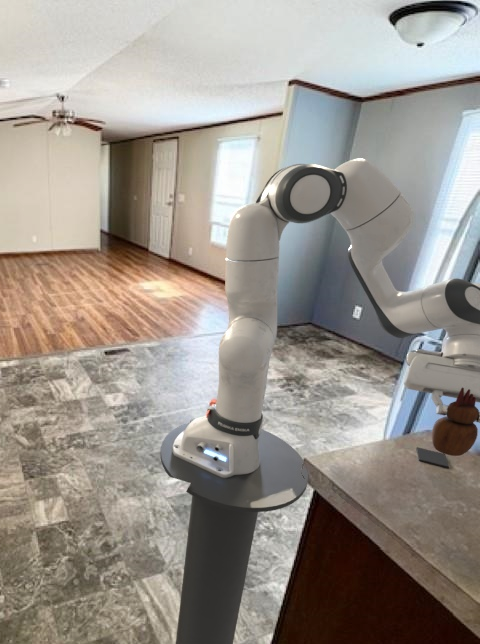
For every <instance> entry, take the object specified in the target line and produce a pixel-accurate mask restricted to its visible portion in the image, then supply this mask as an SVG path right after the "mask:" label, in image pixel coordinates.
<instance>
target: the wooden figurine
mask: <svg viewBox="0 0 480 644" xmlns="http://www.w3.org/2000/svg"><path fill="white" fill-rule="evenodd" d="M469 395H470V396H469ZM476 403H477V402H476V398H475V397H473V394H470V389H468V391H467V392H466V394H465V395H464V388H461V391H460V393H459V395H458V397H457V398H456V399H455V401H452V402H450V403H449V404H448V409H447V410H448V413H447V414H446V415H445V416H441V417H440V418H438V419H436V421H435V422H434V424H433V426H432V429H431V440H432V441H431V442H432V445H433V447H434V449H435V451H436V450H437V452H439V453H443V454H445V455H446V456H447V455H448V456H453V457H459V456H462V455H464V454H466V453H468V452H469V451H470V450H471V449H472V447H473V446H475V445H474V444H475V443H476V440H477V438H478V433H479V431H478V427H477V425H476V424H475V423H476V422H475V421H476V420H477V418H478V415H479V412H480V411H479V408H478V407H476Z"/></svg>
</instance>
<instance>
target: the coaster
mask: <svg viewBox="0 0 480 644" xmlns="http://www.w3.org/2000/svg"><path fill="white" fill-rule="evenodd" d="M416 453H417V454H416V455H417V458H418V462H421V463H425V464H429V465H432V466H433V465H434V466H437V467H442V468H444V469H445V468H446V469H450V465H449V462H448V458H447V454H444V453H441V452H439V451H436V450H435V451H434V450H430V449H427V448H422V447H418V446H417V447H416Z"/></svg>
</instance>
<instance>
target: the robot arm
mask: <svg viewBox="0 0 480 644" xmlns="http://www.w3.org/2000/svg"><path fill="white" fill-rule="evenodd" d="M327 215H331V216H332V217H333V218H335V220H337V222H338V223H339V224H340V226H341V227H342V229H343V230H344V231H345V233H346V234H347V236H348V238H349V241H350V246H349V248H348V252H347V257H348V261H349V264H350V267H351V268H352V271H353V272H354V275H355V276H356V278H357V280H358V282H359V283H360V285H361V287H362V289H363V291H364V292H365V294H366V296H367V298H368V300H369V302H370V304H371V306H372V307H373V309H374V312H375V315H376V318H377V321H378V324H379V326H380V327H381V329H382V330H383V331H384V332H385V333H387V334H389V335H391V336H393V337H395V338H397V339H404V338H409V337H412V336H416V335H419V334H422V333H428V332H432V331H437V330H442V329H443V330H444V331H445V336H444V337H443V339H442V343H441V351H436V350H427V349H422V348H417V349H413V350H410V351H409V352H407V354H406V360H405V363H406V364H407V366H408V367H407V369H406V372H405V375H404V378H403V385H404V387H405V388H406V389H407V390H412V391H418V392H422V393H428V394H431V396H430V399H431V400H432V402H433V403H434V405H435V407H436V408H435V409H436V410H435V414H436V415H440V416H443V417H445V416H447V415H446V414H447V413H448V410H447V409H448V405H449V404H448V405H447V404H444V402H443V400H442V397H448V398H454V399H457V397H458V395H459V393H460V391H461V388H464V395H465V394H466V392H467V391H468V389H470V394H473V397H475V398H476V402H475V403H480V282H470V281H469V280H465V279H462V278H459V277H457V278H452V279H447V280H443V281H439V282H436V283H431V284H429V285H425V286H422V287H419V288H416V289H412V290H408V291H400V290H397V289H396V288H395V286H394V284H393V282H392V280H391V278H390V276H389V274H388V272H387V271H386V268H385V266H384V264H383V260H384V259H385V258H386V256H388V255H389V254H390V253H391V252H392V251H394V250H395V249H396V248H397V247H398V246H399V245H400V244H401V243H402V241H403V240H405V238H406V237H407V235H408V234H409V232H410V231H411V228H412V225H413V222H414V212H413V209H412V206H411V204H410V203H409V201H408V200H407V199H406V196H404V195H403V193H402V192H401V191H400V189H399V188H398V187H397V186H396V185H395V183H394V182H393V181H392V180H391V179H390V178H389V177H388V176H387V174H385V173H384V172H383V171H382V170H380V169H379V167H377V166H376V165H375V164H373V163H372V162H371V161H369V160H367V159H366V158H353V159H350V160H348V161H345V162H344V163H342V164H340V165H338V166H337V167H335V169H333V168H329V167H326V166H324V165H320V164H315V163H314V164H313V163H309V164H308V163H296V164H292V165H289V166H286V167H284V168H281V169H278V171H276V172H275V173H273V174H272V175H271V176H270V178H269V179H268V180H267V182H266V184H265V185H264V187H263V188H262V190H261V192H260V194H259V196H258V197H257V199H256V201H255V202H251V203H247V204H245V205H243V206H240V207H239V208H237V209H236V210H235V211H233V213H232V215H231V217H230V221H229V225H228V230H227V235H226V245H225V246H226V247H225V273H224V274H225V275H224V277H225V279H224V280H225V282H224V283H225V284H224V295H225V296H226V302H227V308H228V325H227V329H226V330H225V332H224V334H223V335H222V336H221V339H220V341H219V344H218V345H219V346H218V387H217V395H216V398H212V399H211V401H210V402H209V406H208V408H207V411H206V413H205V415H203V416H200V417H197V418H194V417H190V421H189V423H190V424H189V425H188V426H187V428H186V429H185V431H183V432H182V433H180V434H179V435H178V437H177V438H176V440H175V442H174V444H173V454H174V455H175V456H177V457H179V458H181V459H183V460H185V461H187V462H190V463H192V464H194V465H196V466H198V467H200V468H203V469H205V470H207V471H209V472H211V473H213V474H216V475H218V476H220V477H222V478H228V477H231V476H233V475H241V474H248V473H251V472H253V471H255V470H256V469H257V468H258V467H259V465H260V459H259V453H258V437H259V435H260V433H261V429H263V428H262V427H263V422H264V421H263V420H264V419H263V418H264V414H263V408H264V402H265V397H266V392H267V391H266V390H267V384H268V383H267V381H268V374H269V366H270V360H271V356H272V351H273V348H274V345H275V342H276V340H277V335H278V283H279V282H278V281H279V267H280V265H279V263H280V241H281V238H282V235H283V231H284V230H285V228H286V227H287V226H288V225H289V223H294V224H307V223H308V224H309V223H311V222H315V221H316V220H319V219H321V218H323V217H326V216H327ZM469 396H470V395H469ZM474 423H480V411H479V415H478V418H477V420H476V421H475V422H474Z"/></svg>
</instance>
